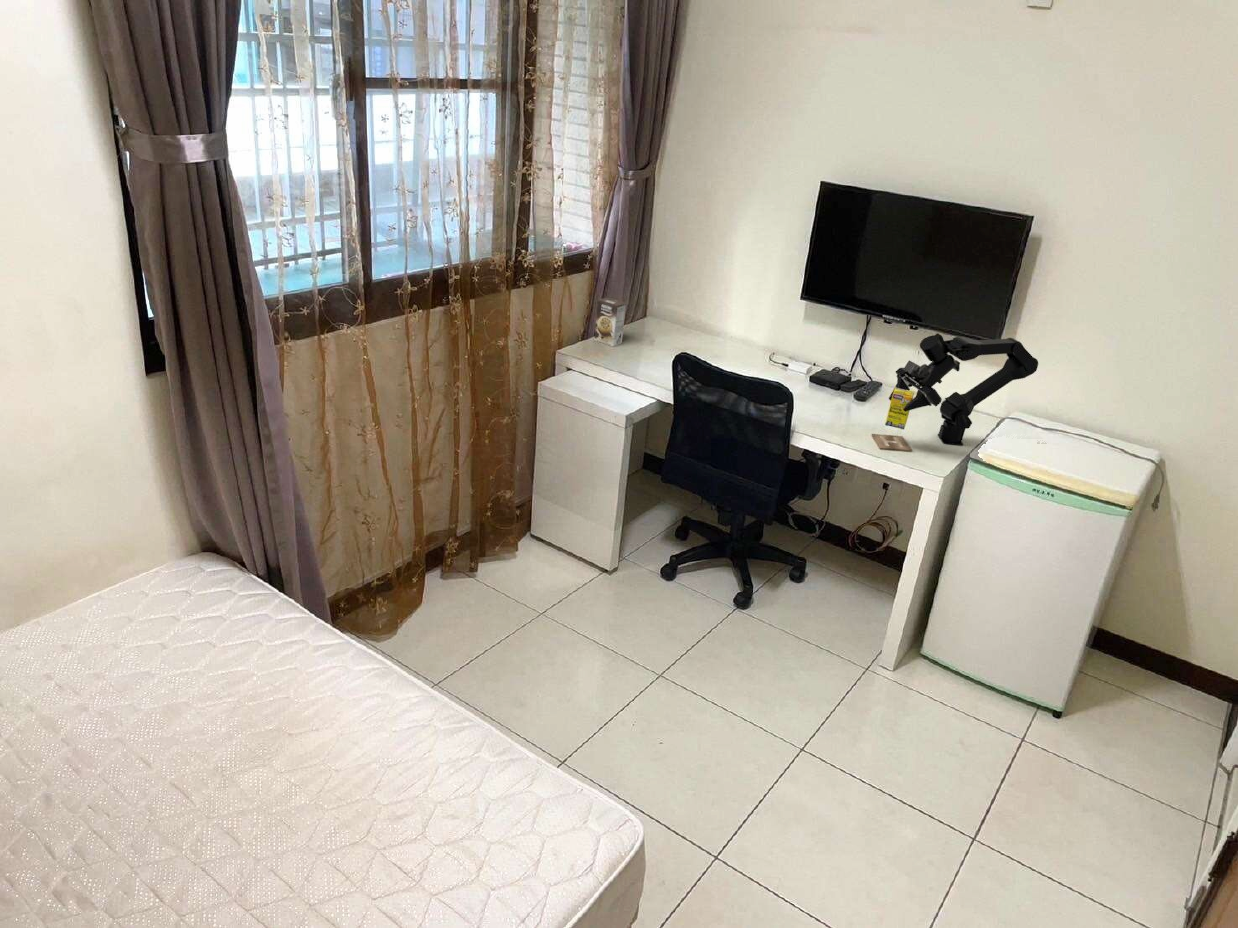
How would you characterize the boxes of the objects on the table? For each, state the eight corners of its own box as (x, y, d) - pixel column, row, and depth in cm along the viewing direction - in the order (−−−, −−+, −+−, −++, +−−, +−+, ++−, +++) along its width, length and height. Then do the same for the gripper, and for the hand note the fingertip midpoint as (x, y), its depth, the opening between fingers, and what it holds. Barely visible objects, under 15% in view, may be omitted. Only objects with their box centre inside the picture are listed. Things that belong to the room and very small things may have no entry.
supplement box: (884, 425, 275) (892, 393, 270) (887, 418, 280) (895, 386, 275) (904, 430, 273) (912, 397, 268) (906, 423, 278) (914, 390, 273)
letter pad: (902, 438, 284) (902, 436, 283) (911, 452, 275) (911, 450, 275) (871, 435, 283) (871, 433, 283) (879, 449, 274) (879, 447, 274)
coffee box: (593, 340, 339) (596, 299, 332) (603, 336, 344) (607, 296, 336) (613, 347, 335) (616, 305, 327) (622, 343, 339) (626, 302, 332)
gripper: (907, 342, 274) (868, 376, 277) (942, 364, 259) (900, 401, 261) (923, 365, 280) (885, 399, 282) (958, 388, 264) (917, 424, 267)
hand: (896, 405), depth 273 cm, fingers closed on supplement box, 8 cm apart
